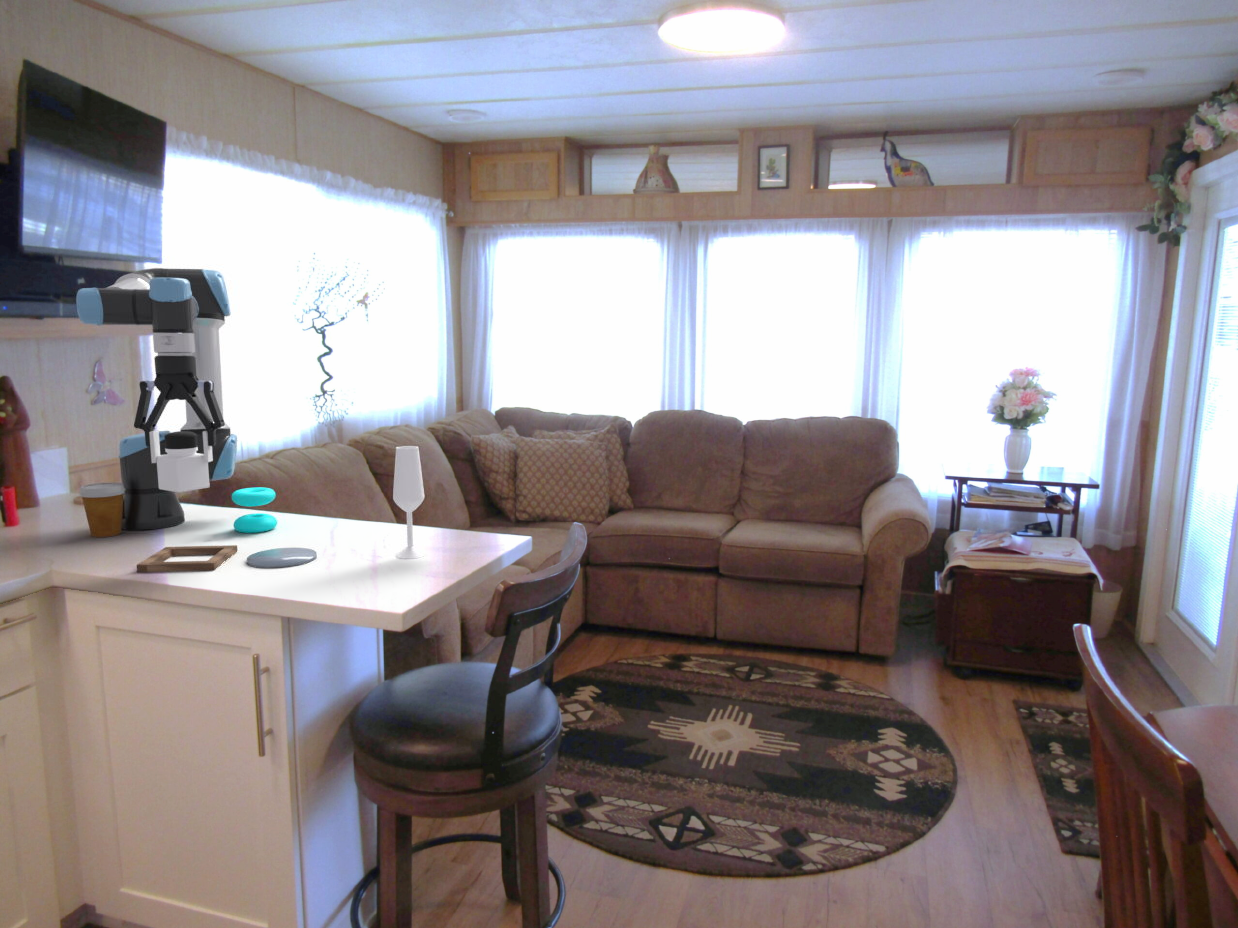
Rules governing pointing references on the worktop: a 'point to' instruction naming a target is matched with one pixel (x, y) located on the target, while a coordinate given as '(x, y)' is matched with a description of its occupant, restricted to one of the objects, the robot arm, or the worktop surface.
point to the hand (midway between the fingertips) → (182, 461)
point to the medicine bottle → (182, 464)
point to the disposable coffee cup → (103, 508)
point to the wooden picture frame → (158, 565)
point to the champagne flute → (408, 492)
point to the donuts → (257, 520)
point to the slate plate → (281, 557)
